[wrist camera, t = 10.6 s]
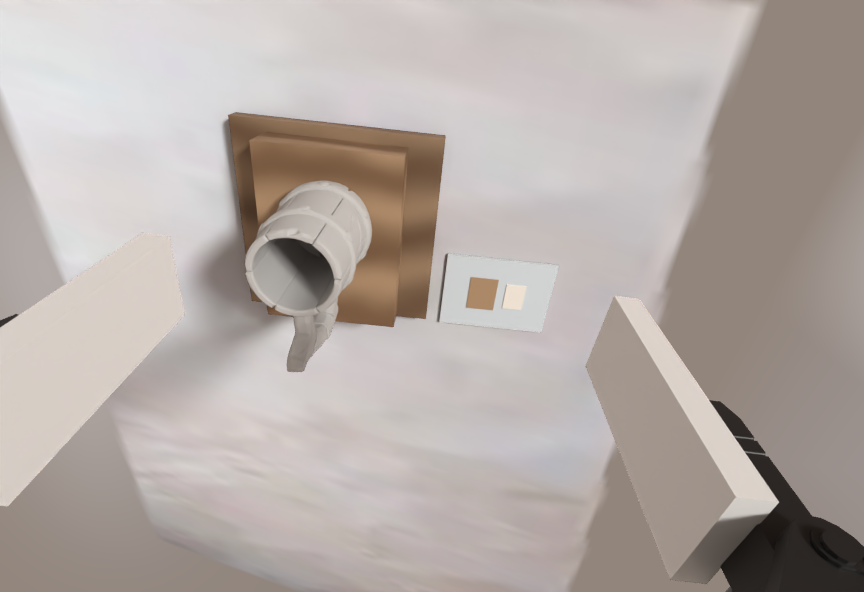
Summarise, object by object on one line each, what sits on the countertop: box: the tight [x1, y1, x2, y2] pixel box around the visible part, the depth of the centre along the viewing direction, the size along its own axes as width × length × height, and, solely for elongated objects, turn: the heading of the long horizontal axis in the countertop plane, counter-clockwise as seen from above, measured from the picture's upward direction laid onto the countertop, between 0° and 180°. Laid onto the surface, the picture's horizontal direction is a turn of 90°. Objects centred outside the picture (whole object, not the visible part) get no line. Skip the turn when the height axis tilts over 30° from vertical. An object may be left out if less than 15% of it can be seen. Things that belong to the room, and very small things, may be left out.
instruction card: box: [439, 253, 559, 333], centre depth 46 cm, size 8×11×1 cm
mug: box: [245, 181, 372, 372], centre depth 33 cm, size 8×12×12 cm, turn 179°
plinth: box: [228, 112, 445, 327], centre depth 40 cm, size 18×18×5 cm
